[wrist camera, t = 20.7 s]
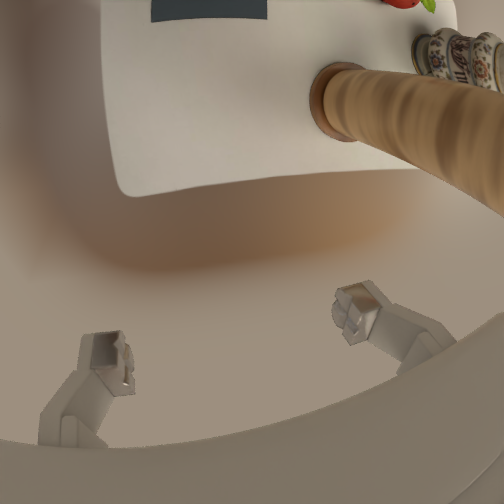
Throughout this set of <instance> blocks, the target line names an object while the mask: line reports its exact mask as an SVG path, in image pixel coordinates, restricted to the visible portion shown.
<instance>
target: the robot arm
mask: <svg viewBox="0 0 504 504" xmlns="http://www.w3.org/2000/svg"><path fill="white" fill-rule="evenodd" d="M335 297H336V299H337V300H336V301H335V302H334V303H333V305H332V317H333V320H334V322H335V324H336V325H337V326H338V327H339V328H342V329H343V333H342V335H343V336H344V337H345V339H346V340H347V342H348V343H349V345H350V346H351V345H354V344H357V343H360V342H363V341H366V340H368V342H370V343H372V344H373V345H374V346H376V347H378V348H379V349H381V350H382V351H384V352H386V353H387V354H389V355H391V356H392V357H394V358H395V359H397V360H399V361H401V362H402V363H401V365H400V367H399V368H398V370H397V375H398V376H396V377H394V378H392V379H390V380H388V381H386V382H384V383H382V384H379V385H377V386H375V387H373V388H371V389H368V390H366V391H364V392H362V393H359V394H357V395H354V396H352V397H350V398H347V399H345V400H342V401H340V402H337V403H334V404H332V405H329V406H326V407H324V408H321V409H318V410H315V411H312V412H309V413H306V414H303V415H300V416H297V417H294V418H291V419H287V420H284V421H281V422H277V423H274V424H270V425H266V426H262V427H259V428H255V429H251V430H246V431H243V432H238V433H233V434H228V435H224V436H219V437H213V438H208V439H202V440H196V441H189V442H183V443H175V444H166V445H157V446H146V447H130V448H108V445H107V444H106V443H105V442H104V441H103V440H102V439H100V438H99V437H98V436H97V435H96V433H97V430H98V429H99V427H100V425H101V423H102V421H103V419H104V417H105V415H106V413H107V411H108V409H109V408H110V406H111V404H112V402H113V400H114V397H117V396H126V395H133V394H135V379H134V377H133V376H132V374H131V373H132V372H133V370H134V359H133V354H132V351H131V348H130V346H129V345H128V344H126V343H125V336H124V334H123V332H122V331H120V330H119V331H110V332H100V333H92V334H84V335H83V336H82V338H81V344H80V350H79V357H78V364H77V370H75V371H73V372H72V373H71V374H70V376H69V377H68V378H67V379H66V381H65V382H64V383H63V384H62V386H61V387H60V388H59V390H58V391H57V392H56V394H55V395H54V396H53V398H52V399H51V400H50V401H49V403H48V404H47V406H46V407H45V408H44V410H43V411H42V412H41V414H40V423H39V433H38V445H34V444H25V443H18V442H12V441H7V440H2V439H0V504H504V312H501V313H499V314H496V315H495V316H494V317H492V318H491V319H490V320H488V321H487V322H486V323H484V324H483V325H482V326H480V327H479V328H477V329H476V330H474V331H473V332H472V333H470V334H469V335H467V336H466V337H464V338H463V339H461V340H460V341H458V342H457V341H456V340H455V339H454V337H453V336H452V335H451V334H450V333H449V332H448V331H447V329H446V328H445V327H444V326H443V325H442V324H441V323H440V322H438V321H436V320H433V319H431V318H429V317H426V316H424V315H422V314H419V313H417V312H415V311H412V310H410V309H407V308H405V307H403V306H401V305H398V304H392V303H391V302H390V301H389V300H388V298H387V297H386V296H385V295H384V294H383V293H382V292H381V291H380V289H379V288H378V287H377V286H376V285H375V284H374V283H373V282H372V281H370V280H367V281H363V282H360V283H356V284H353V285H349V286H345V287H341V288H338V289H337V290H336V292H335Z"/></svg>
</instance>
